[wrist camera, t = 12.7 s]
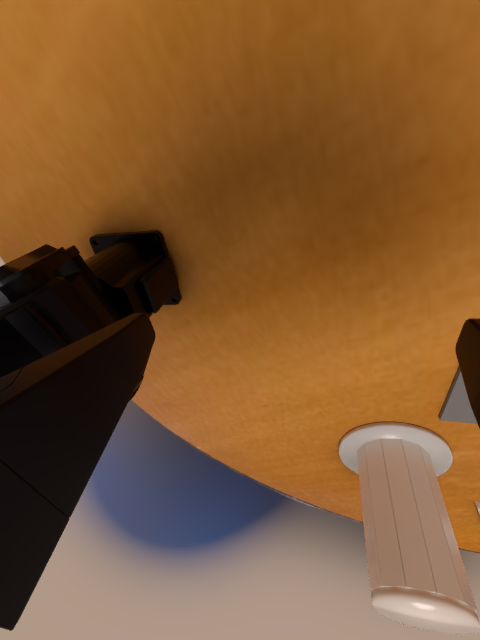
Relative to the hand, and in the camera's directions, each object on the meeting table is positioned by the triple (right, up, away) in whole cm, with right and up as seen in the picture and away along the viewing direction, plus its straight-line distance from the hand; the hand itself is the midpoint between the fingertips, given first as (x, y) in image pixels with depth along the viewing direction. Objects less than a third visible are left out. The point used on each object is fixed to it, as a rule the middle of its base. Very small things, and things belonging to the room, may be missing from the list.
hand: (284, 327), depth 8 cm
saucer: (+15, -14, +23) cm, 31 cm away
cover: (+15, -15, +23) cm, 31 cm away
